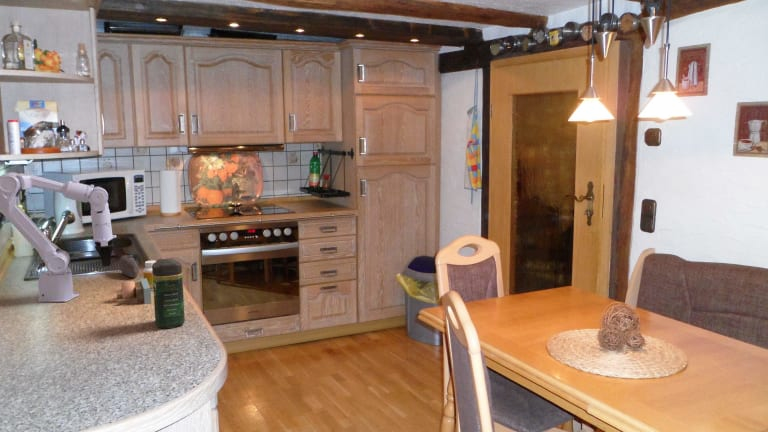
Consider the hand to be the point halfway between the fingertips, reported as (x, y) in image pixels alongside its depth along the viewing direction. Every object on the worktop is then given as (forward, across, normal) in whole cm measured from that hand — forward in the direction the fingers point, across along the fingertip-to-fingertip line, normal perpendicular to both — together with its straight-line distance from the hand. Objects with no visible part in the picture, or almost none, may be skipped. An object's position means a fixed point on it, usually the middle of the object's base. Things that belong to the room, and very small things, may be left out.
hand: (106, 263), depth 204 cm
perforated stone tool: (+11, +24, -8) cm, 27 cm away
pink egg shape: (+11, -12, -5) cm, 17 cm away
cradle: (+11, -12, -6) cm, 17 cm away
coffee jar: (+11, -43, -14) cm, 46 cm away
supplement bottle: (+11, 0, -14) cm, 18 cm away
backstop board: (+11, -12, -10) cm, 19 cm away
